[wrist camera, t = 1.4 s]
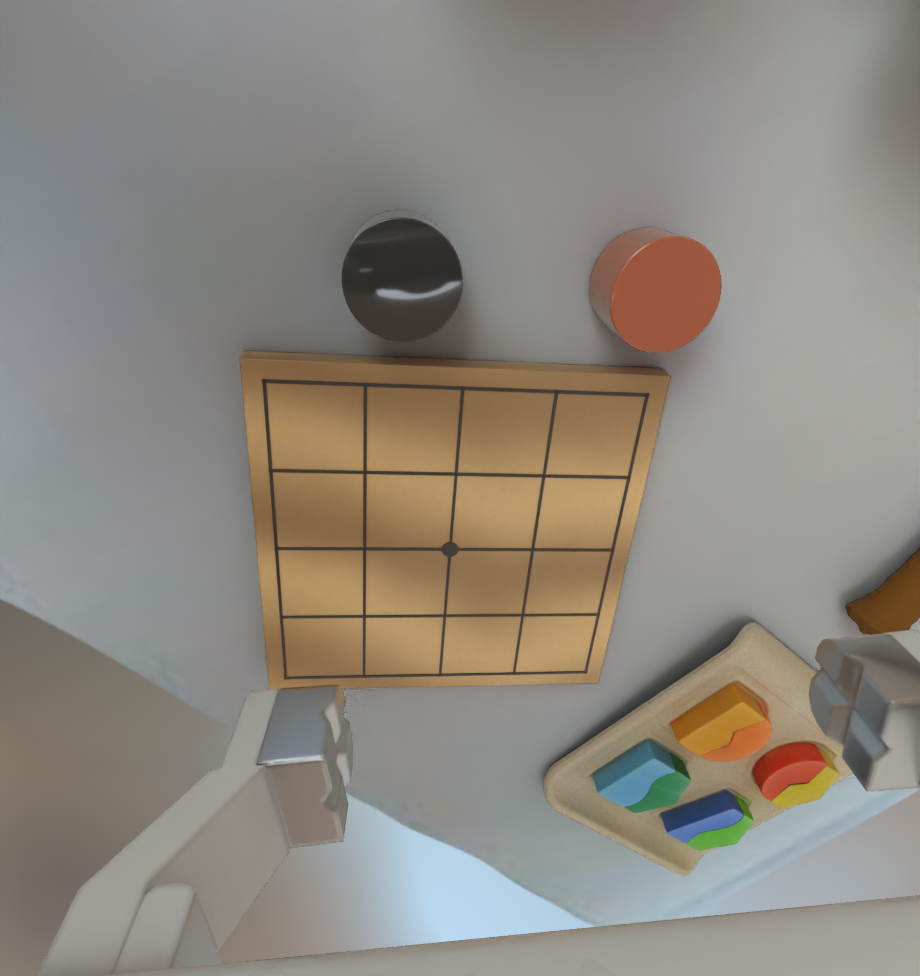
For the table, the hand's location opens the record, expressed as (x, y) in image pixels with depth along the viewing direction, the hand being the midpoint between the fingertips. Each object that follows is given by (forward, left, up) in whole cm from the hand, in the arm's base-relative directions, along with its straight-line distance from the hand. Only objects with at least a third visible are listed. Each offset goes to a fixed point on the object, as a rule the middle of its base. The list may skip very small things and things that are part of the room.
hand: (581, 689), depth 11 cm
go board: (+11, 0, -22) cm, 24 cm away
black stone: (-3, -3, -22) cm, 22 cm away
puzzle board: (+29, +20, -22) cm, 42 cm away
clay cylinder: (-3, +8, -22) cm, 24 cm away
